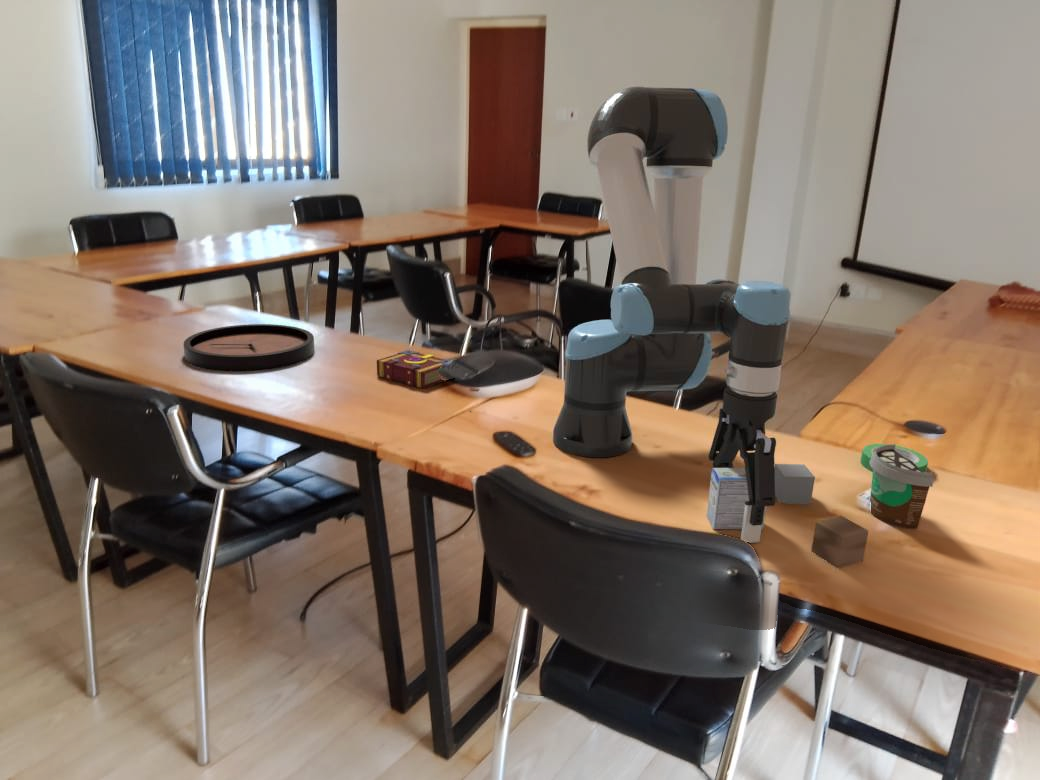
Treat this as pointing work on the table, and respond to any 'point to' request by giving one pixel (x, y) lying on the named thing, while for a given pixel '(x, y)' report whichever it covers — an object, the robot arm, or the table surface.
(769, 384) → the robot arm
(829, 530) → the walnut block
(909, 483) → the food container
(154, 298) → the table surface
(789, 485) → the slate grey block
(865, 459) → the tape roll
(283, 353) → the wall clock
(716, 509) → the medicine box
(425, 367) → the decorative book
